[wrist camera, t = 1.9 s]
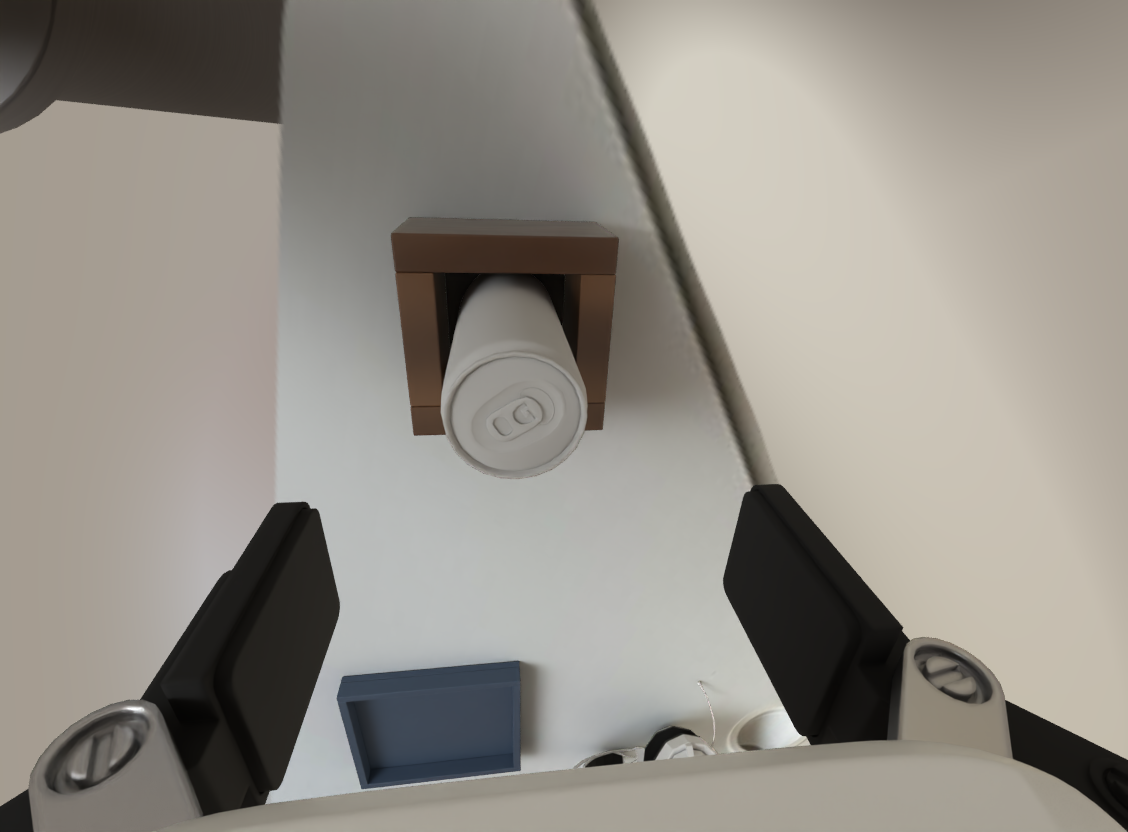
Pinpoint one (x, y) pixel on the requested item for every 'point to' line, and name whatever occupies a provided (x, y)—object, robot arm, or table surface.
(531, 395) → the beverage can
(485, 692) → the tray
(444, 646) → the table surface
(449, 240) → the can holder
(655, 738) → the headphones
